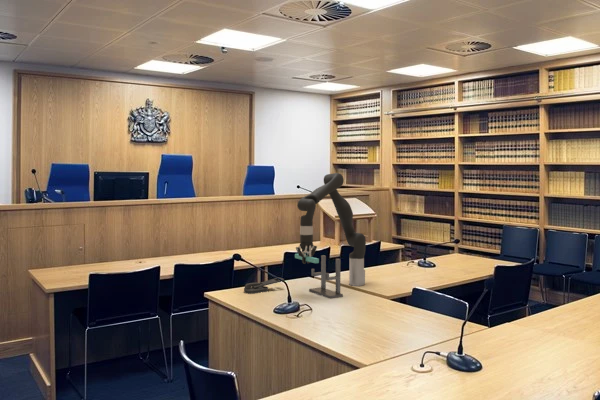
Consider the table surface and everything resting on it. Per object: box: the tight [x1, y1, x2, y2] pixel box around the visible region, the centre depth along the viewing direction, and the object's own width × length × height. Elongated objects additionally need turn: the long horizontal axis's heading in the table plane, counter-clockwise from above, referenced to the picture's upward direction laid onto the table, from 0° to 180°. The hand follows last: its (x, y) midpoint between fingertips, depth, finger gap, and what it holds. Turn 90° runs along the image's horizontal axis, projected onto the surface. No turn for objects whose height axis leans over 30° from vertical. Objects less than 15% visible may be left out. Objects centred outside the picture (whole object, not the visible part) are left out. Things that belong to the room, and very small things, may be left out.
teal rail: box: [294, 253, 320, 264], centre depth 306 cm, size 2×22×2 cm, turn 32°
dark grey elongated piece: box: [243, 276, 285, 295], centre depth 322 cm, size 9×7×25 cm
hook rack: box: [308, 254, 344, 300], centre depth 313 cm, size 9×22×22 cm, turn 32°
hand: (306, 263), depth 306 cm, fingers closed on teal rail, 2 cm apart
